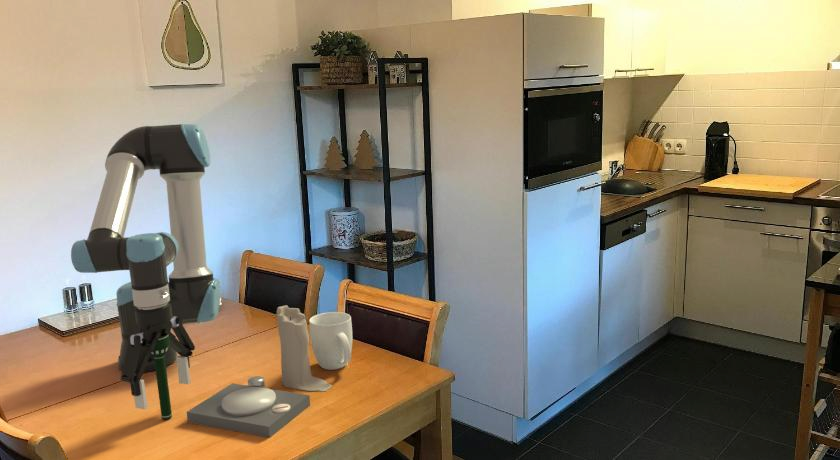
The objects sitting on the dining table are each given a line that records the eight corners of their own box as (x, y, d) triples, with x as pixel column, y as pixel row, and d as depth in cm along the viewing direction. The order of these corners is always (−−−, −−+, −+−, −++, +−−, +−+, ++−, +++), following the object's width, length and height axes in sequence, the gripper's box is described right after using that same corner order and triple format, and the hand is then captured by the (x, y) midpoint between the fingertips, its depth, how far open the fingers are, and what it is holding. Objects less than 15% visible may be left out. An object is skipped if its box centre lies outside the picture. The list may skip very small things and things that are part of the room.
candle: (321, 394, 164) (314, 315, 160) (276, 385, 171) (269, 308, 167) (338, 383, 170) (333, 306, 166) (295, 374, 177) (288, 300, 173)
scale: (187, 422, 153) (185, 406, 152) (233, 392, 167) (231, 378, 167) (269, 437, 144) (268, 421, 144) (310, 405, 159) (309, 390, 158)
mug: (368, 370, 177) (365, 322, 174) (330, 382, 171) (326, 332, 169) (342, 354, 189) (339, 308, 187) (305, 364, 183) (302, 317, 181)
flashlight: (166, 411, 159) (155, 329, 155) (183, 414, 157) (173, 332, 153) (150, 421, 154) (138, 337, 150) (167, 425, 152) (156, 339, 148)
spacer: (245, 390, 169) (244, 381, 168) (255, 384, 172) (254, 375, 172) (258, 393, 167) (257, 383, 166) (268, 386, 170) (267, 377, 170)
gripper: (121, 324, 137) (134, 422, 142) (204, 290, 160) (213, 375, 164) (93, 321, 140) (107, 417, 145) (179, 287, 163) (189, 371, 167)
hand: (164, 395), depth 154 cm, fingers open, 13 cm apart
